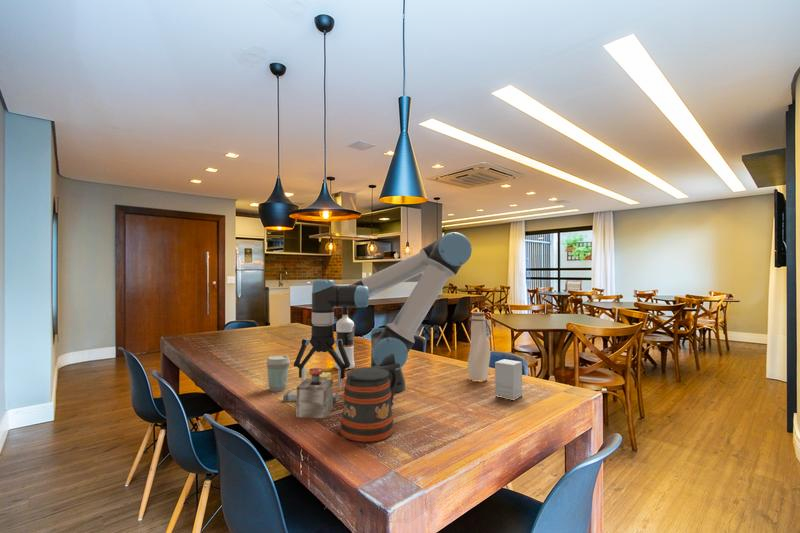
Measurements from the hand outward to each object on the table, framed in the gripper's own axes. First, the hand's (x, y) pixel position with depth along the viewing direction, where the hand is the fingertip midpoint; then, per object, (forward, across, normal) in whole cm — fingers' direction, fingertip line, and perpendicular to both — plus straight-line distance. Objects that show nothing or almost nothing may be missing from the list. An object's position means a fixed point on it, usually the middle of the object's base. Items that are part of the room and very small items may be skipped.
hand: (321, 387), depth 132 cm
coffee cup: (+5, +20, -11) cm, 23 cm away
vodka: (+5, +2, -47) cm, 47 cm away
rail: (+4, +4, 0) cm, 6 cm away
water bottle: (+5, -58, -32) cm, 67 cm away
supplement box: (+5, -66, -10) cm, 66 cm away
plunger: (-4, -1, +12) cm, 12 cm away
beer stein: (+5, -20, +23) cm, 31 cm away
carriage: (+4, 0, 0) cm, 4 cm away
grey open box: (+4, -1, +12) cm, 12 cm away
